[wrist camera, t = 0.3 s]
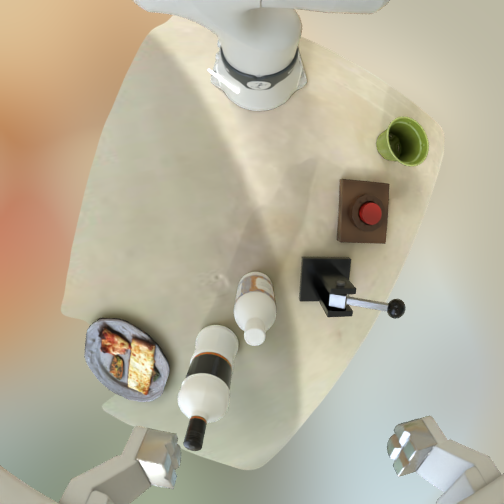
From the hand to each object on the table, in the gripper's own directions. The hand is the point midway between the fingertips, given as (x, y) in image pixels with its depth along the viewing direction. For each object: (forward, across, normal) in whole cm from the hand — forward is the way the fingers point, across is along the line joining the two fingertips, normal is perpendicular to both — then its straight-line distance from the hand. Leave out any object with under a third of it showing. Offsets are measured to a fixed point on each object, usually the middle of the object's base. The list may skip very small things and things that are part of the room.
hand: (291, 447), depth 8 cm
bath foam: (+47, +1, +11) cm, 48 cm away
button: (+43, -20, -5) cm, 48 cm away
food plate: (+47, +33, +32) cm, 66 cm away
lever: (+35, -18, +9) cm, 40 cm away
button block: (+47, -20, -6) cm, 51 cm away
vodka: (+47, +9, +24) cm, 53 cm away
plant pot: (+47, -26, -20) cm, 57 cm away
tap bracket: (+47, -13, +8) cm, 49 cm away
